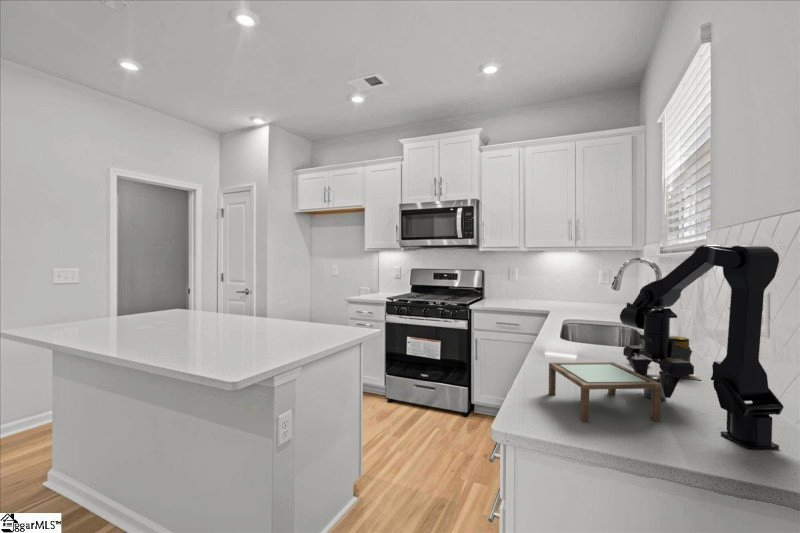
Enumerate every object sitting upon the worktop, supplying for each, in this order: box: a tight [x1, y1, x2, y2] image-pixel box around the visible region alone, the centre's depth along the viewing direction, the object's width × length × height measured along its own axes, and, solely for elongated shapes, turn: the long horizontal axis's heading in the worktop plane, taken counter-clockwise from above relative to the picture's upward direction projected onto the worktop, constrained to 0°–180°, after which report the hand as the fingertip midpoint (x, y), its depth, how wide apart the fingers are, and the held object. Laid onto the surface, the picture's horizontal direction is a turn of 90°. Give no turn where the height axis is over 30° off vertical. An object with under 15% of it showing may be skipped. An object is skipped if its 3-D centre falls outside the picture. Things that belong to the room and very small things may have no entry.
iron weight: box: [643, 374, 667, 402], centre depth 101 cm, size 5×5×6 cm
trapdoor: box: [560, 364, 647, 383], centre depth 95 cm, size 14×14×1 cm
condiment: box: [668, 335, 702, 381], centre depth 120 cm, size 7×8×12 cm
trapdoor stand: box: [548, 361, 662, 423], centre depth 95 cm, size 18×18×8 cm
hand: (655, 391), depth 101 cm, fingers open, 9 cm apart
